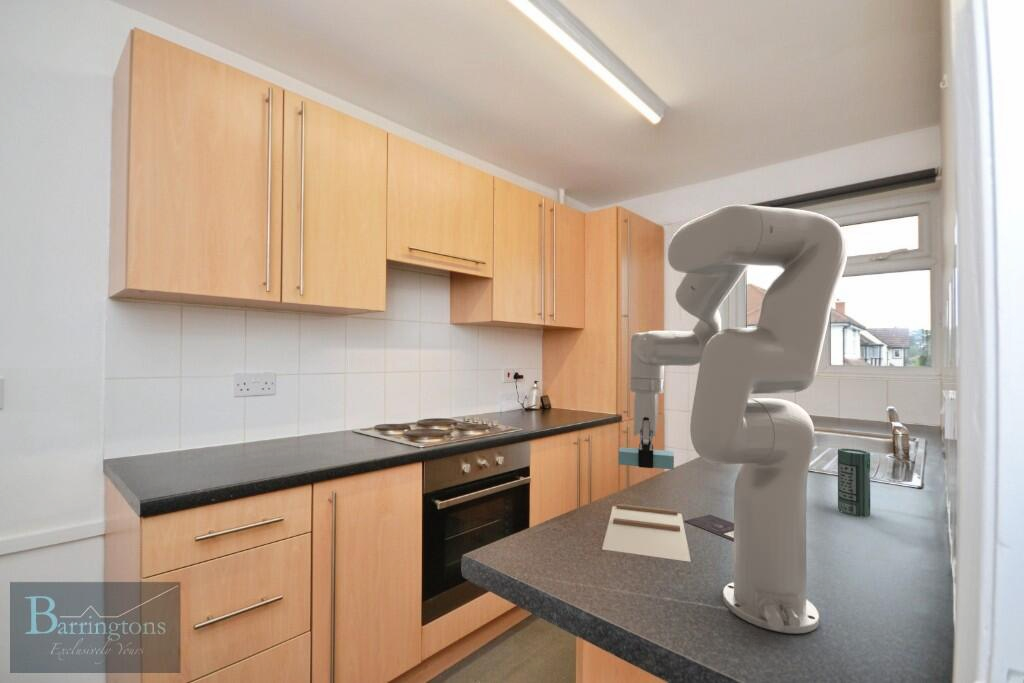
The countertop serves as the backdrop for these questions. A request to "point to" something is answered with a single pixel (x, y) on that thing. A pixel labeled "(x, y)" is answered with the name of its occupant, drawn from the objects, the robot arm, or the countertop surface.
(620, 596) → the countertop surface
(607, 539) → the cream base board
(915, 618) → the countertop surface
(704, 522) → the chocolate bar
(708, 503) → the countertop surface
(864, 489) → the can
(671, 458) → the teal bar on plank
